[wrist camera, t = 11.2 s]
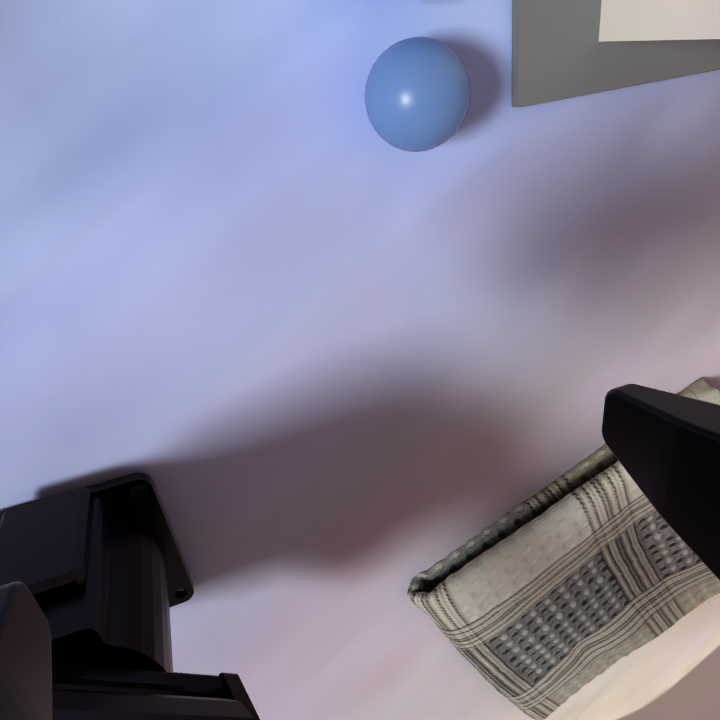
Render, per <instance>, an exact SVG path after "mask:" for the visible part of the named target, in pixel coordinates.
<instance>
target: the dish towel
mask: <svg viewBox="0 0 720 720" xmlns="http://www.w3.org/2000/svg"><path fill="white" fill-rule="evenodd" d="M677 395H681V396H685V397H689V398H693V399H697V400H701V401H706V402H710V403H714V404H718V405H720V391H719V390H718V389H716V388H714V387H711V386H710V385H709V384H708V383H707V382H706V381H705V379H703V378H700V379H698V380H697V381H695V382H694V383H692V384H691V385H689V386H688V387H687V388H685V389H684V390H682V391H681V392H680V393H678V394H677ZM718 593H720V581H719V579H718V578H717V577H716V576H715V575H714V574H713V573H712V572H711V571H710V570H709V569H708V567H707V566H706V565H705V564H704V563H703V562H702V561H701V560H700V559H699V558H698V557H697V556H696V554H695V553H694V552H693V551H692V550H691V549H690V548H689V547H688V546H687V545H686V544H685V542H684V541H683V540H682V539H681V538H680V537H679V536H678V535H677V534H676V533H675V532H674V531H673V529H672V528H671V527H670V526H669V525H668V524H667V523H666V521H665V520H664V519H663V518H662V517H661V516H660V514H659V513H658V512H657V511H656V509H655V508H654V507H653V506H652V504H651V503H650V502H649V500H648V499H647V498H646V496H645V495H644V494H643V492H642V491H641V490H640V488H639V487H638V486H637V484H636V483H635V482H634V481H633V479H632V478H631V477H630V475H629V474H628V473H627V471H626V470H625V469H624V467H623V466H622V465H621V463H620V462H619V461H618V459H617V458H616V457H615V455H614V454H613V453H612V451H611V450H610V449H609V447H608V446H607V444H605V445H604V446H602V447H601V448H599V449H598V450H596V451H595V452H594V453H592V454H591V455H590V456H589V457H587V458H586V459H584V460H583V461H581V462H580V463H579V464H577V465H576V466H574V467H573V468H572V469H570V470H569V471H567V472H566V473H565V474H563V475H562V476H561V477H559V478H558V479H557V480H555V481H554V482H552V483H551V484H550V485H548V486H547V487H546V488H544V489H543V490H541V491H540V492H539V493H537V494H536V495H534V496H533V497H531V498H529V499H528V500H526V501H525V502H523V503H522V504H520V505H519V506H517V507H515V508H514V509H513V510H512V511H510V512H509V513H508V514H506V515H505V516H503V517H501V518H500V519H498V520H497V521H496V522H495V523H493V524H492V525H491V526H489V527H487V528H485V529H484V530H483V531H482V532H480V533H479V534H478V535H477V536H475V537H474V538H472V539H470V540H469V541H467V542H466V543H465V544H464V545H463V546H461V547H460V548H458V549H457V550H455V551H453V552H452V553H450V554H449V555H448V556H447V557H445V558H444V559H443V560H441V561H439V562H437V563H436V564H435V565H433V566H432V567H431V568H429V569H428V570H426V571H423V572H421V573H419V574H418V575H417V576H415V577H414V578H413V579H412V580H411V583H410V586H409V589H408V597H409V598H410V600H411V601H412V602H413V603H414V604H415V605H417V606H418V607H419V608H420V609H422V610H423V611H424V612H425V613H426V614H427V615H428V616H430V618H431V619H432V620H433V621H434V622H435V624H436V625H437V626H438V627H439V629H440V630H441V631H442V632H443V633H444V634H445V635H446V636H447V637H448V639H449V640H450V641H451V642H452V644H453V645H454V646H455V647H456V648H457V650H458V651H459V652H460V653H461V654H462V655H463V656H464V657H465V658H466V659H467V660H468V661H469V662H470V663H471V664H472V665H473V666H474V667H475V668H476V669H477V670H478V671H479V672H480V673H481V674H482V675H483V677H484V678H485V679H486V680H487V681H488V682H490V683H491V684H492V685H493V686H494V687H495V688H496V689H497V690H498V691H499V692H500V693H501V694H503V695H504V696H505V697H506V698H507V699H509V700H510V701H511V702H512V703H513V704H514V705H516V706H517V707H518V708H519V709H520V710H521V711H523V712H524V713H525V714H526V715H528V716H529V717H531V718H533V719H536V720H543V719H545V718H547V717H548V716H549V715H550V714H551V713H552V712H553V711H555V710H556V709H557V708H558V707H559V706H560V705H561V704H562V703H564V702H565V701H566V700H567V699H568V698H569V697H570V696H571V695H573V694H575V693H576V692H578V691H579V690H580V688H581V687H582V686H584V685H585V684H587V683H589V682H590V681H591V680H592V679H594V678H595V677H596V676H598V675H600V674H602V673H603V672H604V671H605V670H606V669H607V668H608V667H610V666H611V665H613V664H614V663H615V662H616V661H617V660H619V659H620V658H622V657H624V656H627V655H628V654H630V653H631V652H632V651H634V650H636V649H638V648H640V647H641V646H643V645H645V644H646V643H648V642H649V641H651V640H653V639H655V638H656V637H658V636H659V635H660V634H662V633H663V632H665V631H666V630H667V629H668V628H670V627H671V626H672V625H673V624H675V623H676V622H677V621H678V620H679V619H680V618H682V617H683V616H685V615H686V614H687V613H689V612H690V611H692V610H693V609H694V608H696V607H698V606H699V605H700V604H701V603H703V602H704V601H705V600H707V599H709V598H710V597H712V596H713V595H716V594H718Z"/></svg>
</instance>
